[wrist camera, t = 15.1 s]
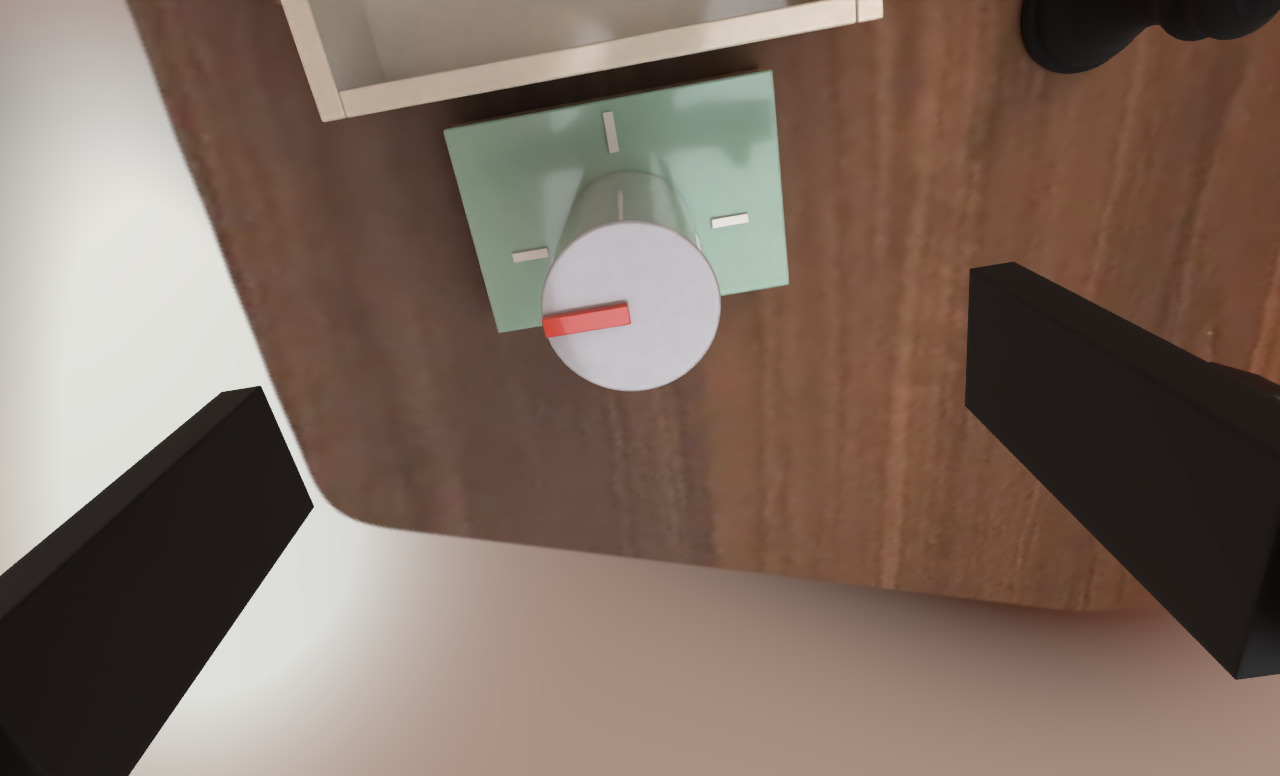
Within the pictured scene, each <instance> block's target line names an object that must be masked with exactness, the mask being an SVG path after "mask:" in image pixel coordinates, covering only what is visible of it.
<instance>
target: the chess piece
mask: <svg viewBox="0 0 1280 776" xmlns="http://www.w3.org/2000/svg"><path fill="white" fill-rule="evenodd" d="M1279 10H1280V0H1026V1H1025V4H1024V9H1023V14H1022V33H1023V38H1024V42H1025V45H1026V47H1027V49H1028V51H1029V53H1030V54H1031V56H1032V57H1033V59H1034V60H1035V61H1036V62H1037V63H1038V64H1040V65H1041V66H1043V67H1044V68H1046V69H1048V70H1051V71H1053V72H1057V73H1065V74H1072V73H1080V72H1084V71H1088V70H1090V69H1093V68H1096V67H1098V66H1099V65H1101V64H1103V63H1105V62H1106V61H1108V60H1109V59H1111V58H1112V57H1113V56H1115V55H1116V54H1118V53H1119V52H1120V51H1121V50H1123V49H1124V48H1125V47H1126V46H1127V45H1128V44H1129V43H1130V42H1132V41H1133V39H1134V38H1135V37H1136V36H1137V35H1138V34H1140V33H1141V32H1142V31H1143V30H1144V29H1145V28H1146V27H1149V26H1152V25H1160V26H1161V27H1162V28H1163V29H1164V30H1165V31H1166V32H1167V33H1168V34H1169V35H1171V36H1173V37H1175V38H1176V39H1180V40H1183V41H1196V40H1201V39H1205V38H1207V37H1211V38H1214V39H1218V40H1230V39H1236V38H1240V37H1243V36H1245V35H1248V34H1250V33H1252V32H1254V31H1256V30H1258V29H1259V28H1261V27H1262V26H1263V25H1265V24H1266V23H1267V22H1269V21H1270V20H1271V19H1272V18H1273V17H1274V16H1275V15H1276V13H1277V12H1278V11H1279Z"/></svg>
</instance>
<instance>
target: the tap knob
mask: <svg viewBox="0 0 1280 776" xmlns="http://www.w3.org/2000/svg"><path fill="white" fill-rule="evenodd" d="M720 314H721V295H720V290H719V285H718V282H717V279H716V276H715V273H714V271H713V268H712V266H711V263H710V261H709V258H708V256H707V253H706V251H705V248H704V246H703V243H702V241H701V238H700V236H699V233H698V231H697V228H696V226H695V223H694V221H693V219H692V216H691V214H690V211H689V209H688V207H687V205H686V203H685V202H684V200H683V199H682V197H681V196H680V195H679V194H678V192H677V191H676V190H675V189H674V188H672V187H671V186H670V185H669V184H668V183H666V182H665V181H663V180H661V179H659V178H657V177H655V176H653V175H650V174H647V173H643V172H637V171H623V172H616V173H612V174H609V175H606V176H604V177H601V178H599V179H598V180H596V181H594V182H593V183H591V184H590V185H589V186H587V187H586V188H585V189H584V190H583V191H582V192H581V193H580V194H579V196H578V197H577V198H576V200H575V201H574V203H573V205H572V207H571V209H570V211H569V213H568V216H567V219H566V222H565V225H564V227H563V230H562V233H561V236H560V239H559V241H558V244H557V247H556V250H555V253H554V256H553V258H552V261H551V264H550V267H549V270H548V273H547V275H546V278H545V282H544V286H543V290H542V297H541V315H542V324H543V329H544V333H545V337H546V338H548V340H549V342H550V344H551V346H552V347H553V349H554V351H555V352H556V354H557V355H558V356H559V357H560V359H561V360H562V361H563V362H564V363H565V364H566V365H567V366H568V367H569V368H570V369H571V370H572V371H574V372H575V373H576V374H578V375H579V376H581V377H582V378H584V379H586V380H588V381H590V382H591V383H594V384H596V385H599V386H602V387H605V388H609V389H613V390H620V391H641V390H648V389H653V388H657V387H660V386H663V385H666V384H668V383H670V382H672V381H674V380H676V379H678V378H679V377H681V376H682V375H684V374H686V373H687V372H688V371H689V370H690V369H692V368H693V367H694V366H695V365H696V364H697V363H698V362H699V361H700V360H701V359H702V357H703V356H704V355H705V353H706V352H707V350H708V349H709V347H710V345H711V343H712V342H713V340H714V337H715V335H716V332H717V329H718V325H719V321H720Z"/></svg>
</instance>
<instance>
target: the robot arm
mask: <svg viewBox="0 0 1280 776" xmlns="http://www.w3.org/2000/svg"><path fill="white" fill-rule="evenodd" d="M965 406H966V407H967V408H968V409H969V410H970V411H971V412H972V413H973V414H974V415H975V416H976V417H977V418H978V419H979V420H980V421H981V422H982V423H983V424H984V425H985V426H986V427H987V428H988V429H989V430H990V432H991V433H992V434H993V435H994V436H995V437H996V438H997V439H998V440H999V441H1000V442H1001V443H1002V444H1003V445H1004V446H1005V447H1006V448H1007V449H1008V450H1009V451H1010V452H1011V453H1012V454H1013V455H1014V456H1015V457H1016V458H1017V459H1018V460H1019V461H1020V462H1021V463H1022V464H1023V465H1024V466H1025V467H1026V468H1027V469H1028V470H1029V471H1030V472H1031V473H1032V474H1033V475H1034V476H1035V477H1036V478H1037V479H1038V480H1039V481H1040V482H1041V483H1042V484H1043V485H1044V486H1045V487H1046V488H1047V489H1048V490H1049V491H1050V492H1051V493H1052V494H1053V495H1054V496H1055V497H1056V498H1057V499H1058V500H1059V501H1060V502H1061V503H1062V504H1063V505H1064V506H1065V507H1066V508H1067V509H1068V510H1069V511H1070V512H1071V514H1072V515H1073V516H1074V517H1075V518H1076V519H1077V520H1078V521H1079V522H1080V523H1081V524H1082V525H1083V526H1084V527H1085V528H1086V529H1087V530H1088V531H1089V532H1090V533H1091V534H1092V535H1093V536H1094V537H1095V538H1096V539H1097V540H1098V541H1099V542H1100V543H1101V544H1102V545H1103V546H1104V547H1105V548H1106V549H1107V550H1108V551H1109V552H1110V553H1111V554H1112V555H1113V556H1114V557H1115V558H1116V559H1117V560H1118V561H1119V562H1120V563H1121V564H1122V565H1123V566H1124V567H1125V568H1126V569H1127V570H1128V571H1129V572H1130V573H1131V574H1132V575H1133V576H1134V577H1135V578H1136V579H1137V580H1138V581H1139V582H1140V583H1141V584H1142V585H1143V586H1144V587H1145V588H1146V589H1147V590H1148V591H1149V592H1150V593H1151V595H1152V596H1153V597H1154V598H1155V599H1156V600H1157V601H1158V602H1159V603H1160V604H1161V605H1162V606H1163V607H1164V608H1165V609H1166V610H1167V611H1168V612H1169V613H1170V614H1171V615H1172V616H1173V617H1174V618H1175V619H1176V620H1177V621H1178V622H1179V623H1180V624H1181V625H1182V626H1183V627H1184V628H1185V629H1186V630H1187V631H1188V632H1189V633H1190V634H1191V635H1192V636H1193V637H1194V638H1195V639H1196V640H1197V641H1198V642H1199V643H1200V644H1201V645H1202V646H1203V647H1204V648H1205V649H1206V650H1207V651H1208V652H1209V653H1210V654H1211V655H1212V656H1213V657H1214V658H1215V659H1216V660H1217V661H1218V662H1219V663H1220V664H1221V665H1222V666H1223V667H1224V668H1225V669H1226V670H1227V671H1228V672H1229V673H1230V674H1231V675H1232V677H1234V679H1236V680H1237V679H1245V678H1252V677H1260V676H1267V675H1274V674H1280V385H1278V384H1276V383H1274V382H1271V381H1269V380H1267V379H1265V378H1263V377H1261V376H1259V375H1257V374H1253V373H1250V372H1246V371H1242V370H1239V369H1235V368H1232V367H1228V366H1224V365H1221V364H1217V363H1214V362H1209V363H1208V362H1206V361H1204V360H1202V359H1200V358H1199V357H1197V356H1195V355H1193V354H1191V353H1189V352H1187V351H1185V350H1183V349H1181V348H1179V347H1177V346H1175V345H1173V344H1172V343H1170V342H1168V341H1166V340H1164V339H1162V338H1160V337H1158V336H1156V335H1154V334H1152V333H1150V332H1148V331H1146V330H1144V329H1143V328H1141V327H1139V326H1137V325H1135V324H1133V323H1131V322H1129V321H1127V320H1125V319H1123V318H1121V317H1119V316H1117V315H1116V314H1114V313H1112V312H1110V311H1108V310H1106V309H1104V308H1102V307H1100V306H1098V305H1096V304H1094V303H1092V302H1090V301H1089V300H1087V299H1085V298H1083V297H1081V296H1079V295H1077V294H1075V293H1073V292H1071V291H1069V290H1067V289H1065V288H1063V287H1061V286H1060V285H1058V284H1056V283H1054V282H1052V281H1050V280H1048V279H1046V278H1044V277H1042V276H1040V275H1038V274H1036V273H1034V272H1033V271H1031V270H1029V269H1027V268H1025V267H1023V266H1021V265H1019V264H1017V263H1015V262H1009V263H1003V264H997V265H991V266H985V267H979V268H973V269H970V281H969V309H968V337H967V365H966V392H965ZM313 507H314V506H313V503H312V501H311V499H310V497H309V494H308V492H307V490H306V487H305V485H304V483H303V481H302V478H301V476H300V474H299V472H298V469H297V467H296V465H295V462H294V460H293V458H292V456H291V453H290V451H289V449H288V447H287V444H286V442H285V440H284V437H283V436H282V433H281V431H280V428H279V426H278V424H277V422H276V419H275V417H274V415H273V412H272V410H271V408H270V406H269V404H268V401H267V399H266V397H265V394H264V392H263V390H262V388H261V386H256V387H251V388H245V389H238V390H232V391H226V392H221V393H220V394H219V395H218V396H217V397H215V398H214V399H213V400H212V401H210V402H209V403H208V404H207V405H206V406H205V407H203V408H202V409H201V410H200V411H199V412H197V413H196V414H195V415H194V416H192V417H191V418H190V419H189V420H188V421H186V422H185V423H184V424H183V425H182V426H180V427H179V428H178V429H177V430H176V431H174V432H173V433H172V434H171V435H169V436H168V437H167V438H166V439H165V440H163V441H162V442H161V443H160V444H159V445H157V446H156V447H155V448H154V449H153V450H151V451H150V452H149V453H148V454H147V455H145V456H144V457H143V458H142V459H141V460H139V461H138V462H137V463H136V464H135V465H133V466H132V467H131V468H130V469H129V470H127V471H126V472H125V473H124V474H122V475H121V476H120V477H119V478H118V479H116V480H115V481H114V482H113V483H112V484H110V485H109V486H108V487H107V488H106V489H105V490H103V491H102V492H101V493H100V494H99V495H97V496H96V497H95V498H94V499H93V500H91V501H90V502H89V503H88V504H86V505H85V506H84V507H83V508H82V509H80V510H79V511H78V512H77V513H76V514H74V515H73V516H72V517H71V518H69V519H68V520H67V521H66V522H65V523H63V524H62V525H61V526H60V527H59V528H57V529H56V530H55V531H54V532H53V533H51V534H50V535H49V536H48V537H47V538H46V539H44V540H43V541H42V542H41V543H39V544H38V545H37V546H36V547H35V548H33V549H32V550H31V551H30V552H29V553H28V554H26V555H25V556H24V557H23V558H21V559H20V560H19V561H18V562H17V563H15V564H14V565H13V566H12V567H10V568H9V569H8V570H7V571H6V572H5V573H3V574H2V575H1V576H0V776H129V774H130V773H131V771H132V770H133V768H134V767H135V765H136V764H137V763H138V761H139V760H140V758H141V757H142V755H143V754H144V752H145V751H146V749H147V748H148V746H149V745H150V744H151V742H152V741H153V739H154V738H155V736H156V735H157V734H158V732H159V731H160V729H161V728H162V726H163V725H164V723H165V722H166V720H167V719H168V718H169V716H170V715H171V713H172V712H173V710H174V709H175V707H176V706H177V705H178V703H179V701H180V700H181V699H182V697H183V696H184V694H185V693H186V692H187V690H188V688H189V687H190V686H191V684H192V683H193V681H194V680H195V678H196V677H197V676H198V674H199V673H200V671H201V670H202V668H203V667H204V665H205V664H206V662H207V661H208V660H209V658H210V657H211V655H212V654H213V652H214V651H215V649H216V648H217V647H218V645H219V644H220V642H221V641H222V639H223V638H224V636H225V635H226V634H227V632H228V631H229V629H230V628H231V626H232V625H233V623H234V622H235V620H236V619H237V618H238V616H239V615H240V613H241V612H242V610H243V609H244V607H245V606H246V605H247V603H248V602H249V600H250V599H251V597H252V596H253V594H254V593H255V591H256V590H257V589H258V587H259V586H260V584H261V583H262V581H263V580H264V578H265V577H266V576H267V574H268V572H269V571H270V570H271V568H272V567H273V565H274V564H275V563H276V561H277V559H278V558H279V557H280V555H281V554H282V552H283V551H284V549H285V548H286V547H287V545H288V544H289V542H290V541H291V539H292V538H293V536H294V535H295V534H296V532H297V531H298V529H299V528H300V526H301V525H302V523H303V522H304V521H305V519H306V518H307V516H308V515H309V513H310V512H311V510H312V509H313Z"/></svg>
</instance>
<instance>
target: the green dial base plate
mask: <svg viewBox="0 0 1280 776" xmlns="http://www.w3.org/2000/svg"><path fill="white" fill-rule="evenodd" d="M443 133H444V137H445V141H446V144H447V148H448V152H449V155H450V159H451V163H452V166H453V170H454V173H455V177H456V181H457V184H458V188H459V192H460V195H461V199H462V203H463V206H464V210H465V214H466V217H467V221H468V224H469V228H470V232H471V235H472V239H473V243H474V246H475V250H476V254H477V257H478V261H479V265H480V268H481V272H482V275H483V279H484V283H485V286H486V290H487V294H488V297H489V301H490V305H491V308H492V312H493V316H494V319H495V323H496V326H497V330H498V332H499V333H503V332H509V331H515V330H521V329H527V328H533V327H539V326H543V324H542V315H541V297H542V290H543V286H544V282H545V278H546V275H547V273H548V270H549V267H550V264H551V261H552V258H553V256H554V253H555V250H556V247H557V244H558V241H559V239H560V236H561V233H562V230H563V227H564V225H565V222H566V219H567V216H568V213H569V211H570V209H571V207H572V205H573V203H574V201H575V200H576V198H577V197H578V196H579V194H580V193H581V192H582V191H583V190H584V189H585V188H586V187H587V186H589V185H590V184H591V183H593V182H594V181H596V180H598V179H599V178H601V177H604V176H606V175H609V174H612V173H616V172H623V171H637V172H643V173H647V174H650V175H653V176H655V177H657V178H659V179H661V180H663V181H665V182H666V183H668V184H669V185H670V186H671V187H672V188H674V189H675V190H676V191H677V192H678V194H679V195H680V196H681V197H682V199H683V200H684V202H685V203H686V205H687V207H688V209H689V211H690V214H691V216H692V219H693V221H694V223H695V226H696V228H697V231H698V233H699V236H700V238H701V241H702V243H703V246H704V248H705V251H706V253H707V256H708V258H709V261H710V263H711V266H712V268H713V271H714V273H715V276H716V279H717V282H718V285H719V290H720V295H721V296H725V295H731V294H737V293H743V292H749V291H755V290H761V289H767V288H773V287H779V286H785V285H789V271H788V258H787V245H786V232H785V220H784V207H783V194H782V181H781V169H780V156H779V143H778V130H777V118H776V105H775V92H774V79H773V71H772V70H770V69H762V68H757V69H751V70H746V71H740V72H735V73H730V74H724V75H719V76H713V77H708V78H702V79H697V80H691V81H686V82H681V83H675V84H670V85H664V86H659V87H653V88H648V89H643V90H637V91H632V92H626V93H621V94H615V95H610V96H604V97H599V98H594V99H588V100H583V101H577V102H572V103H566V104H561V105H556V106H550V107H545V108H539V109H534V110H528V111H523V112H518V113H512V114H507V115H501V116H496V117H490V118H485V119H479V120H474V121H469V122H463V123H458V124H456V125H454V126H451V127H449V128H447V129H445V130H443Z"/></svg>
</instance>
